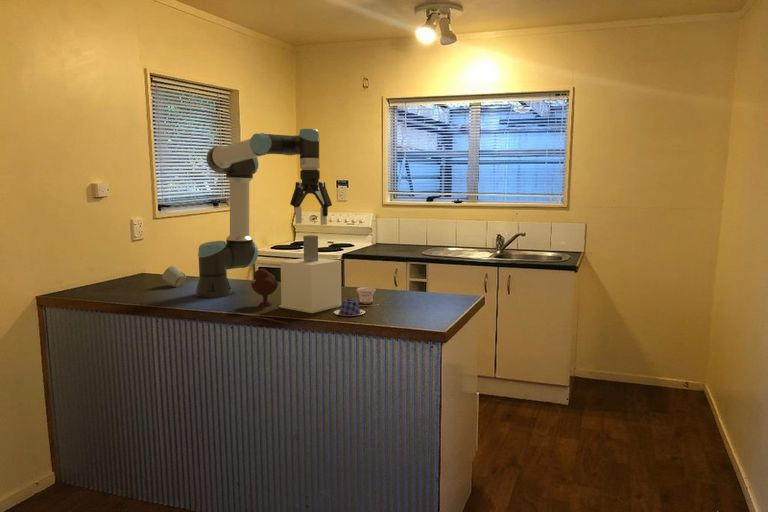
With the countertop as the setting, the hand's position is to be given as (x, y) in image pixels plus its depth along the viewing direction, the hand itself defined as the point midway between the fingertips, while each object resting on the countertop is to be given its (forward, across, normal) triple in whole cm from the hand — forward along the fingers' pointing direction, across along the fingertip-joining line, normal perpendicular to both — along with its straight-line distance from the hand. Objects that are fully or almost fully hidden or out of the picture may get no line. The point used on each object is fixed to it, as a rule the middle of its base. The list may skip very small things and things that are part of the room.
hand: (310, 224), depth 234 cm
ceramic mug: (+32, -84, -6) cm, 90 cm away
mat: (+33, 0, 0) cm, 33 cm away
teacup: (+33, +14, +18) cm, 40 cm away
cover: (+32, 0, 0) cm, 32 cm away
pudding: (+34, +20, 0) cm, 39 cm away
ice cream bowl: (+33, -16, -10) cm, 38 cm away
